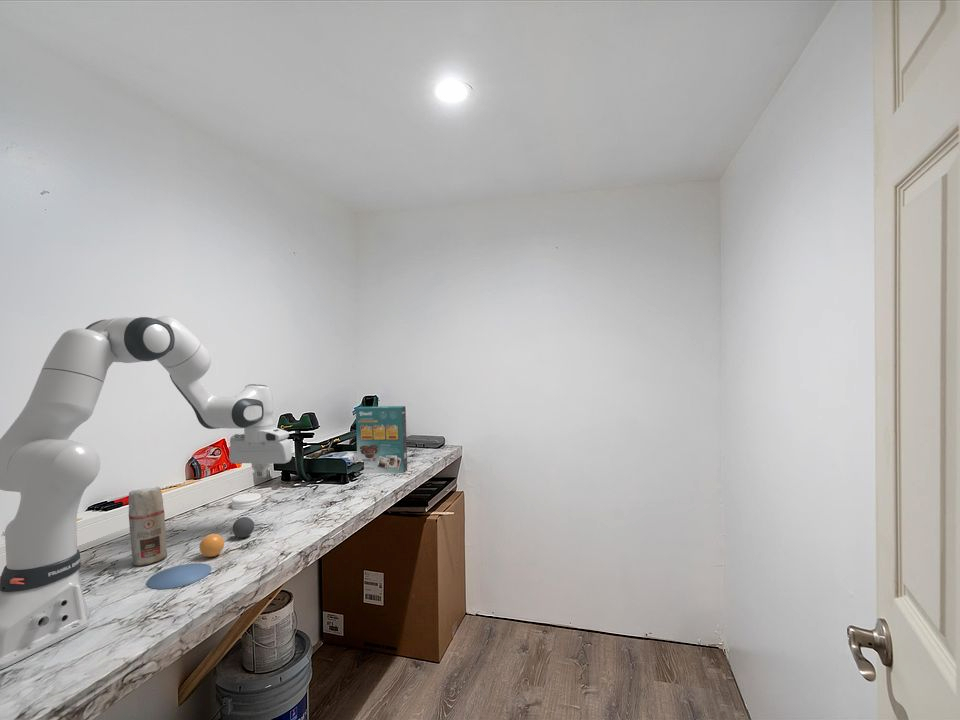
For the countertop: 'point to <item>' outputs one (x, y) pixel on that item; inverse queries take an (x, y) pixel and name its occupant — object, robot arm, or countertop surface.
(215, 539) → the orange ball
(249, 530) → the black ball
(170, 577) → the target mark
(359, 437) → the cake mix box
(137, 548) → the beige paper tall bag
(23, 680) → the countertop surface
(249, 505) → the coaster
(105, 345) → the robot arm
